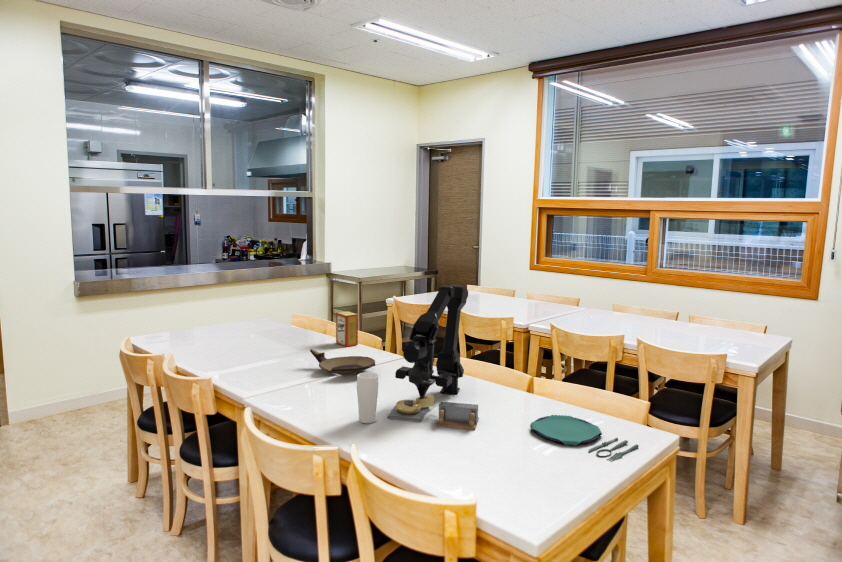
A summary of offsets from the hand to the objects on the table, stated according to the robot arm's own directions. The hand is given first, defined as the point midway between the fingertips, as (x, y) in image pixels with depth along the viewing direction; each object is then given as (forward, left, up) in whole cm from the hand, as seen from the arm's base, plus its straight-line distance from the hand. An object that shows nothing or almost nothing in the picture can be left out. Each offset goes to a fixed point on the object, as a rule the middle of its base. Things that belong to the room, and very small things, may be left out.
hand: (422, 401), depth 188 cm
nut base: (+7, -3, -2) cm, 8 cm away
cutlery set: (+12, +51, -3) cm, 53 cm away
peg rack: (+10, +14, -2) cm, 17 cm away
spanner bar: (+10, +14, -2) cm, 17 cm away
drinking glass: (+16, -14, -3) cm, 22 cm away
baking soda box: (-76, -56, -3) cm, 94 cm away
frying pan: (-33, -41, -3) cm, 53 cm away
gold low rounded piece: (+5, -1, -1) cm, 5 cm away
